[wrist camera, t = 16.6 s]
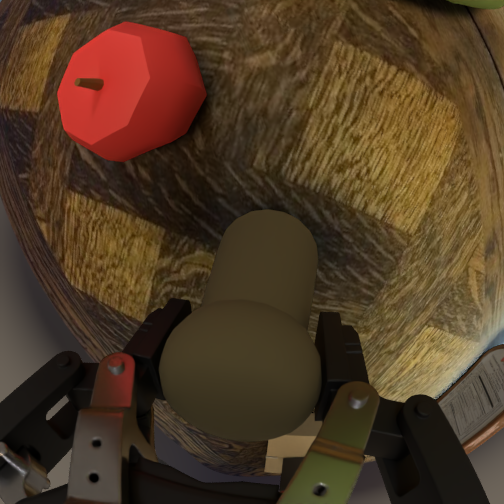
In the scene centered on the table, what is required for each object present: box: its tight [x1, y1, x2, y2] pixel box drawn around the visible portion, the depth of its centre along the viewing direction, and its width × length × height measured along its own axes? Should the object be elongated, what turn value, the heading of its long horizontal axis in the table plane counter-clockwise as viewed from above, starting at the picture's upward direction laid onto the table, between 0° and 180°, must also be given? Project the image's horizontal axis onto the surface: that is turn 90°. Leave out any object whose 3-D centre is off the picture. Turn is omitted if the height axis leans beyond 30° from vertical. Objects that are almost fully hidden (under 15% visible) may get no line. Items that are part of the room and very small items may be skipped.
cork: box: [159, 209, 322, 442], centre depth 12 cm, size 6×6×11 cm
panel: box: [265, 413, 322, 473], centre depth 25 cm, size 12×10×3 cm
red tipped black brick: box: [279, 457, 304, 493], centre depth 22 cm, size 6×2×5 cm, turn 105°
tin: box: [436, 344, 504, 454], centre depth 17 cm, size 15×3×8 cm, turn 156°
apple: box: [57, 22, 207, 162], centre depth 11 cm, size 8×8×8 cm
